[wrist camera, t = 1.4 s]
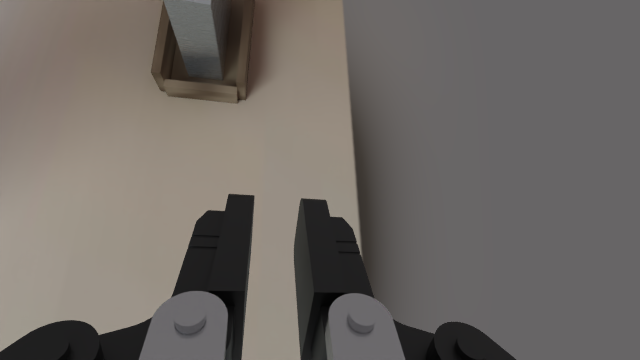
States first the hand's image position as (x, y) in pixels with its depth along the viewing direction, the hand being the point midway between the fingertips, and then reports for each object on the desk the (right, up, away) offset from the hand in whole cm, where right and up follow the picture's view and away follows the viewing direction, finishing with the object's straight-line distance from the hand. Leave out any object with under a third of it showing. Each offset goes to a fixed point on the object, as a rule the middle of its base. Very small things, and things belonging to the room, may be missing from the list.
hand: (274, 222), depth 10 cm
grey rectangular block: (-11, +17, +28) cm, 34 cm away
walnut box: (-11, +16, +28) cm, 34 cm away
